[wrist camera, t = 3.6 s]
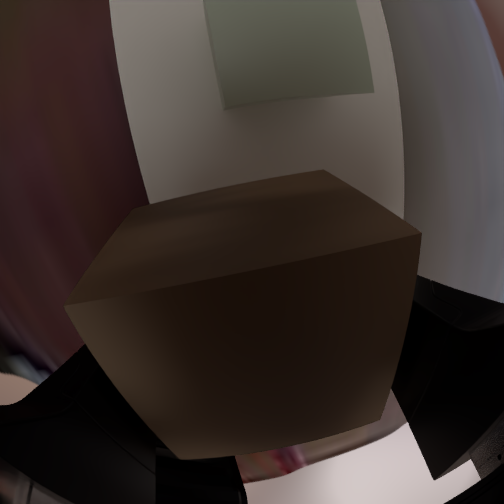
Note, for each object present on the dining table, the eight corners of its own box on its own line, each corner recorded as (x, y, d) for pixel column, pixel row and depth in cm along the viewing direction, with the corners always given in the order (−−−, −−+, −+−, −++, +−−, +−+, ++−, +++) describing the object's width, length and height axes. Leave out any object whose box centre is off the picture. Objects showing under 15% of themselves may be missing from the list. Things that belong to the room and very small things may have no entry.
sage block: (223, 110, 12) (225, 106, 8) (205, 18, 10) (199, -27, 6) (324, 97, 13) (374, 92, 8) (307, 8, 10) (346, -30, 6)
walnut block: (185, 348, 11) (180, 459, 7) (132, 208, 8) (62, 305, 4) (331, 318, 11) (379, 419, 7) (323, 169, 9) (421, 232, 4)
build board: (181, 289, 17) (180, 299, 16) (110, -91, 5) (106, -97, 4) (395, 244, 18) (403, 250, 17) (326, -112, 5) (330, -118, 4)
